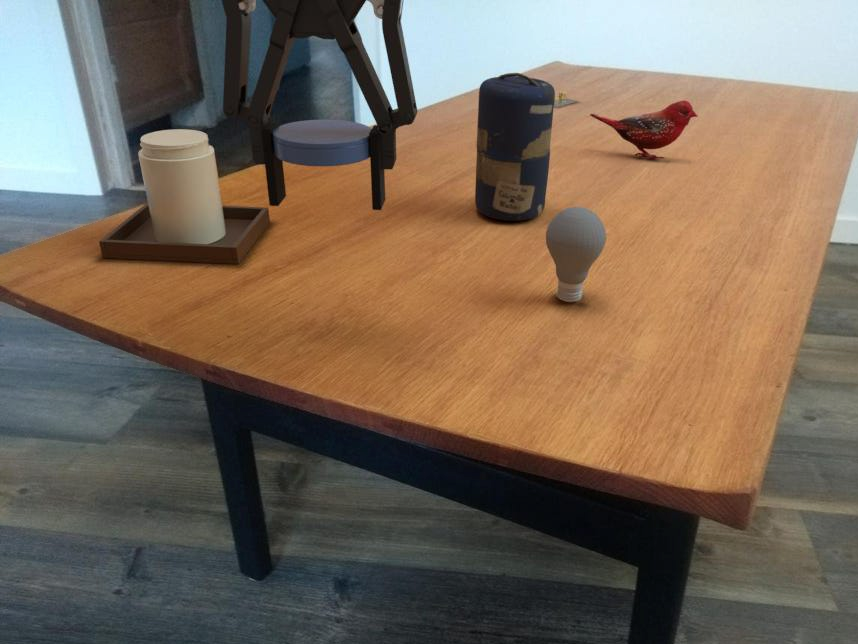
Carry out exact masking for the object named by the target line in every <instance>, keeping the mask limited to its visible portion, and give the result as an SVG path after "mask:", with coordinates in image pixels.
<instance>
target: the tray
mask: <svg viewBox="0 0 858 644" xmlns="http://www.w3.org/2000/svg"><path fill="white" fill-rule="evenodd" d="M222 207H223V214H224V221H225V228H226V234H225V236H224V237H223V238H222V239H220V240H218V241H216V242H213V243H211V244H190V243H168V242H157V241H156V240H155V237H154V232H153V227H152V222H151V217H150V211H149V206H148V201H147V202H145V203H144V204H143V205H142V206H141V207H139V208H138V209H137V210H136V211H134V213H132V214H131V215H130V216H128V217H127V218H126V219H125V220H124V221H122V222H121V223H119V224H118V225H117V226H116V227H115V228H113V229H112V230H111V231H109V232H108V233H107V234H106V235H105V236H103V237H102V238H101V239H100V240H98V243H99V248H100V252H101V256H102V258H103V259H113V260H114V259H116V260H139V261H163V262H186V263H204V264H205V263H207V264H227V265H228V264H229V265H240V263H241V261H242V260H243V259H244V258H245V256H246V255H247V253H248V252H249V251H250V250H251V249H252V247H253V246H254V244H255V243H256V242H257V240H258V239H259V238H260V237H261V236H262V234H263V233H264V231H266V228H267V227H268V225H270V223H271V220H270V210H269V207H266V206H265V207H262V206H242V205H241V206H240V205H222Z"/></svg>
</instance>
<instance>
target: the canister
mask: <svg viewBox="0 0 858 644" xmlns="http://www.w3.org/2000/svg"><path fill="white" fill-rule="evenodd" d="M478 89H479V90H478V108H477V127H476V128H477V129H476V131H477V132H476V163H475V190H474V204H475V207H476V209H477V210H478V212H480V213H481V214H482V215H484V216H486V217H488V218H491V219H493V220H494V219H495V220H500V221H506V222H507V221H510V222H515V221H526V220H530V219H534V218H536V217H538V216H539V215H541V214H542V212H544V209H545V207H546V195H547V188H548V179H549V172H550V171H549V170H550V157H551V140H552V129H553V119H554V107H555V106H554V101H555V97H556V90H555V88H554V86H553V85H552V84H551V83H550V82H548V81H545V80H542V79H538V78H535V77H529V76H527V75H525V74H523V73H519V72H508V73H503V74H500V75H499V76H494V77H490V78H487V79H485V80H483V81H482V82H481V84H480V86H479V88H478Z"/></svg>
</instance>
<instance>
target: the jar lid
mask: <svg viewBox="0 0 858 644" xmlns="http://www.w3.org/2000/svg"><path fill="white" fill-rule="evenodd" d="M371 130H372V128H371V127H370V126H368V125H366V124H364V123H360V122H356V121H350V120H343V119H342V120H341V119H308V120H298V121H292V122H288V123H284V124H282V125H279V127H277V128H275V129H274V130H273V142H274V152H275V156H276V157H277V158H278V159H280V160H282V161H283V162H284V163H288V164H292V165H297V166H305V167H338V166H346V165H351V164H352V165H353V164H356V163H361V162H364V161H365V160H368V159H370V139H369V133H370V131H371Z"/></svg>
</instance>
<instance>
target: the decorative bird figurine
mask: <svg viewBox="0 0 858 644" xmlns="http://www.w3.org/2000/svg"><path fill="white" fill-rule="evenodd" d="M589 116H591V117H592V118H594V119H596V120H597V121H599V122H602V123H604V124H605V125H607V126H609V127H611V128H612V129H613V130H615V132H616V133H617V134H618V135H619V136H620V137H621V138H622V139H623V140H625V141H627V142H629V143H630V144H632V145H633V146H635V147H636V148H637V149H638V150H639V151H640V152H637V153H635V154H634V156H638V158H645V159H646V158H647V159H650V160H656V159H657V160H659V159H661V160H662V159H663V160H665V159H666V157H664V156H657V155H656V154H650V153H649V152H647V151H646V150H658V149H663V148H665V147H668V146H669V145H671V144H672V143H673V142H675V141H677V140H678V138H679V137H680V136H681V135H682V134H683V131H684V130H685V128H686V127H687V126H689V123H690V121H691V119H692V118H698V114H697V112H695V111H694V108H693V106H692V104H691V103H690V102H689V101H687V100H679V101H676V102H673V103H671V104H669V105H668V106H667V107H665V108H663V109H661V110H659V111H655V112H650V113H643V114H638V115H633V116H629V117H626V118H622V119H619V120H617V119H612V118H608V117H607V116H606V117H605V116H602V115H598V114H595V113H590V114H589Z"/></svg>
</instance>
